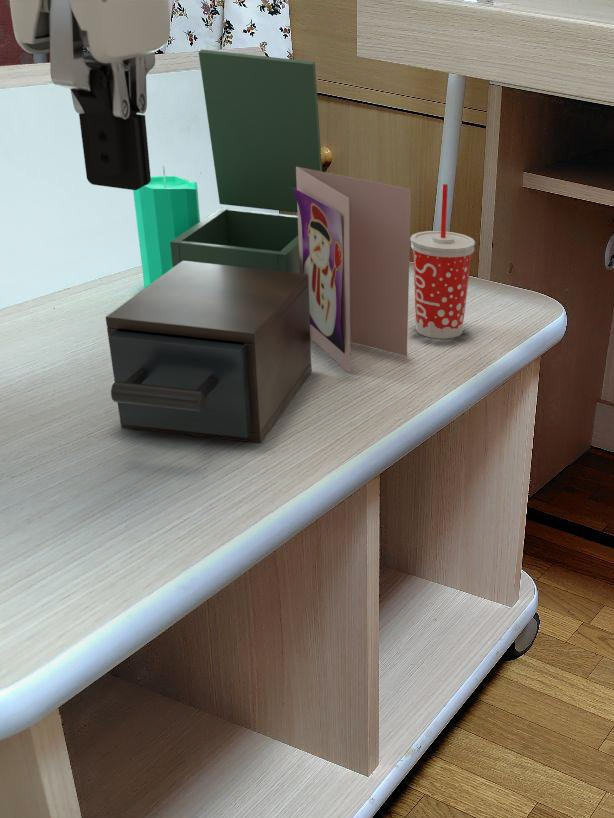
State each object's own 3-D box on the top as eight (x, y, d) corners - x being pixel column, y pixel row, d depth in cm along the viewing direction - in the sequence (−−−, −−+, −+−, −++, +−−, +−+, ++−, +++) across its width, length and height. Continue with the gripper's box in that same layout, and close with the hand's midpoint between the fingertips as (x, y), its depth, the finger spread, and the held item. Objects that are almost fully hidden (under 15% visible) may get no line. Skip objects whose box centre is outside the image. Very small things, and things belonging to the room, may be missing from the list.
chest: (289, 337, 93) (286, 254, 89) (178, 325, 93) (169, 241, 89) (325, 293, 104) (324, 218, 100) (226, 282, 104) (221, 207, 100)
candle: (171, 300, 98) (158, 175, 92) (131, 286, 101) (116, 163, 94) (218, 288, 103) (209, 168, 96) (179, 274, 105) (167, 156, 99)
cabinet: (260, 443, 74) (253, 333, 70) (120, 427, 74) (105, 317, 70) (311, 371, 86) (308, 274, 82) (191, 357, 87) (182, 260, 82)
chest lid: (312, 64, 90) (315, 61, 91) (198, 51, 90) (201, 49, 91) (323, 215, 100) (325, 212, 100) (219, 204, 100) (222, 201, 100)
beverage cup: (399, 322, 99) (401, 177, 92) (455, 317, 102) (461, 176, 94) (422, 344, 94) (427, 193, 87) (480, 338, 97) (489, 191, 90)
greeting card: (293, 331, 94) (286, 166, 86) (364, 322, 98) (364, 164, 90) (341, 374, 86) (338, 198, 79) (417, 364, 90) (422, 194, 82)
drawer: (227, 464, 69) (220, 373, 65) (94, 449, 69) (80, 357, 65) (297, 370, 84) (294, 292, 80) (188, 358, 84) (180, 279, 81)
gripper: (75, -185, 56) (112, 153, 66) (-84, -222, 43) (-10, 205, 53) (206, -168, 56) (223, 168, 66) (85, -199, 43) (129, 223, 53)
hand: (119, 183), depth 59 cm, fingers closed
